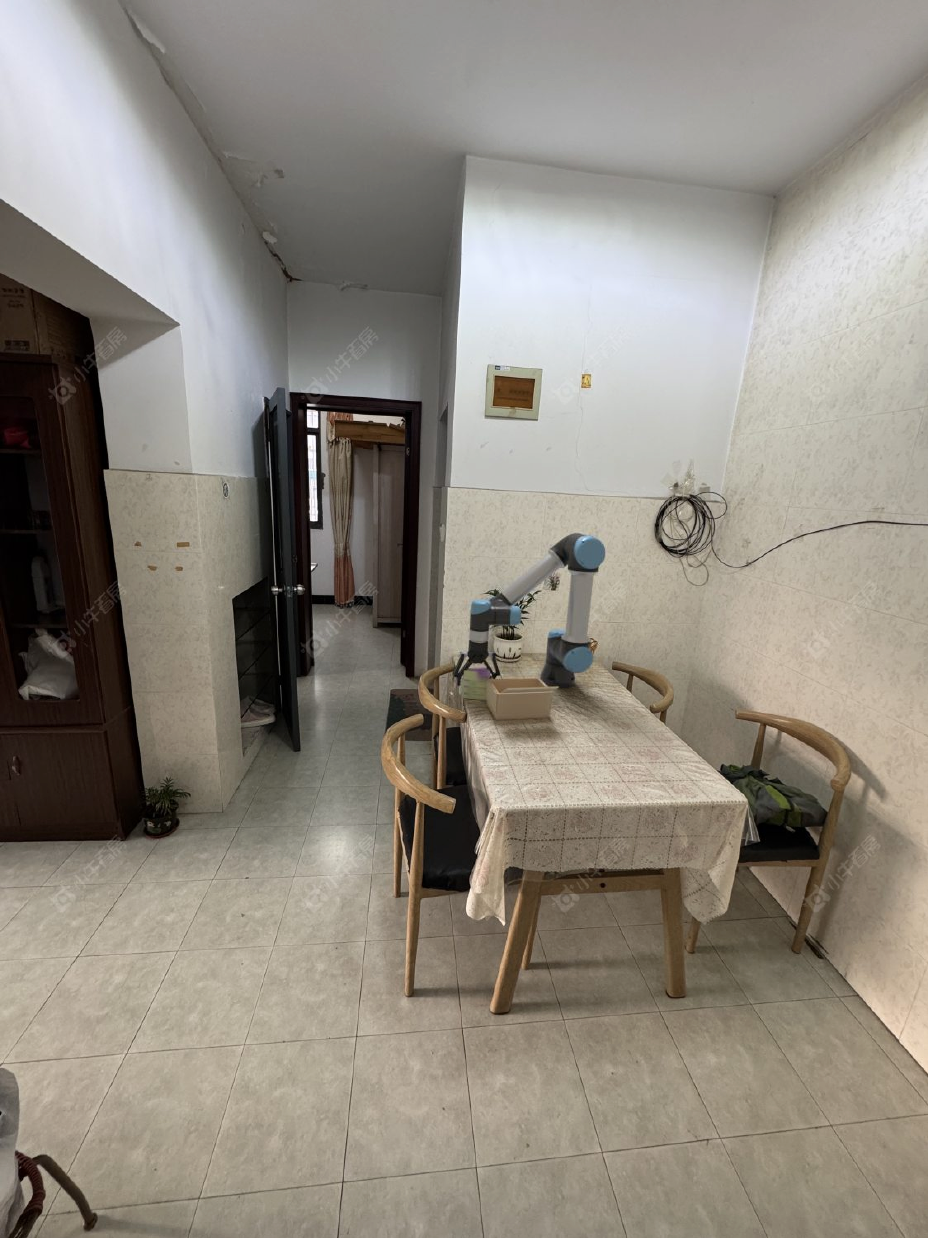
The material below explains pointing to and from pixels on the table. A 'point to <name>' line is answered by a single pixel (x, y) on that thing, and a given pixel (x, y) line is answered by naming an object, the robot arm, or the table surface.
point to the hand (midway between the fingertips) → (475, 692)
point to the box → (475, 683)
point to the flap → (529, 689)
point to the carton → (518, 699)
